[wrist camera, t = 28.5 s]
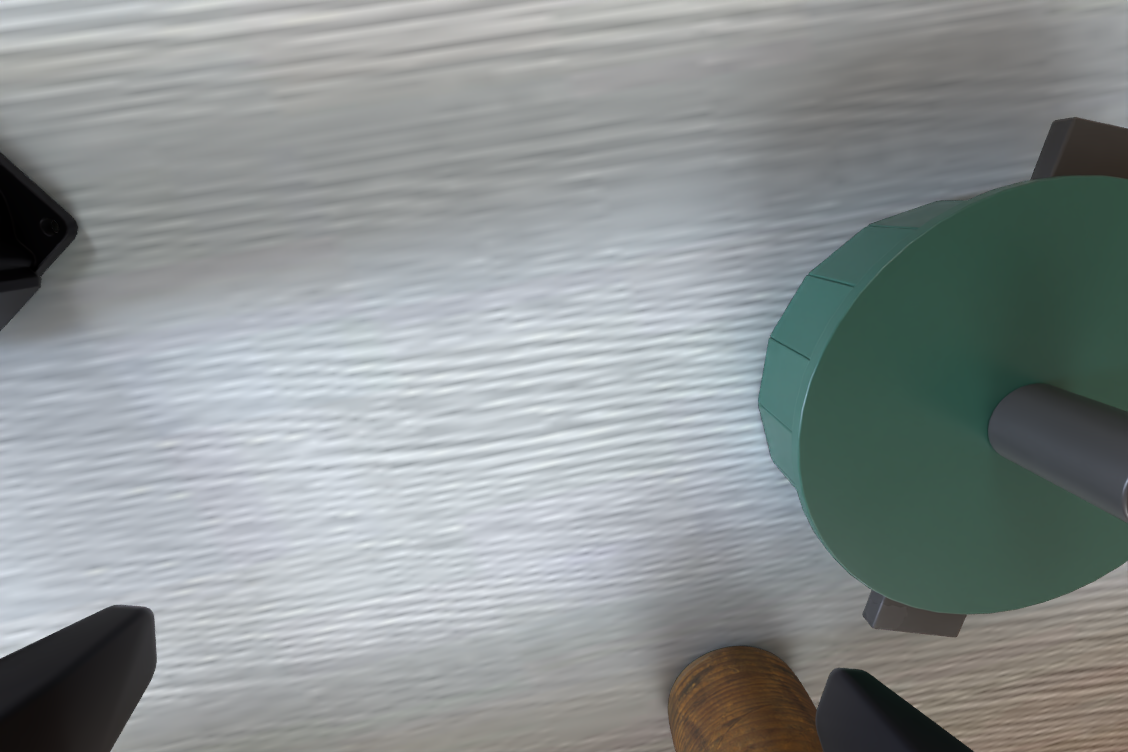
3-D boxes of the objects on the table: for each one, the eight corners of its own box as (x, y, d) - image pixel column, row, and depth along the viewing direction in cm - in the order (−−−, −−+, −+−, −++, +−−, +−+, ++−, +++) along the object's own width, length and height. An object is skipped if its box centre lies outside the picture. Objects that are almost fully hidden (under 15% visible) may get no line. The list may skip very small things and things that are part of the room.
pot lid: (699, 401, 16) (760, 472, 12) (1125, 57, 14) (1386, -7, 10) (932, 672, 20) (1043, 803, 15) (1301, 428, 18) (1550, 500, 13)
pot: (665, 383, 20) (696, 425, 16) (1022, 90, 18) (1154, 59, 14) (851, 599, 23) (913, 675, 20) (1174, 373, 21) (1315, 409, 17)
